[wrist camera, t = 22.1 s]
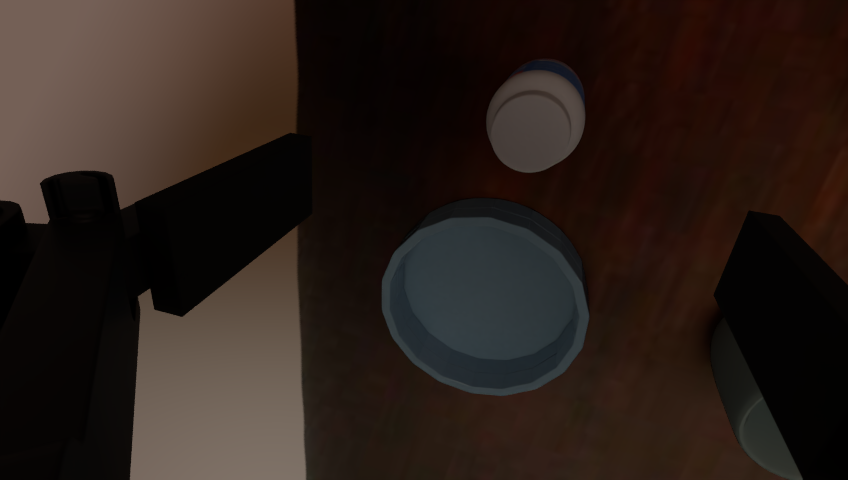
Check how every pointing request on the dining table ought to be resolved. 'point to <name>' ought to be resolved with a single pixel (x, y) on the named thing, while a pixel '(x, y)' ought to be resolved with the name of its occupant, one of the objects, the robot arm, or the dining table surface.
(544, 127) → the pill bottle
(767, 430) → the cup
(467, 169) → the dining table surface
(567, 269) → the shallow blue dish
